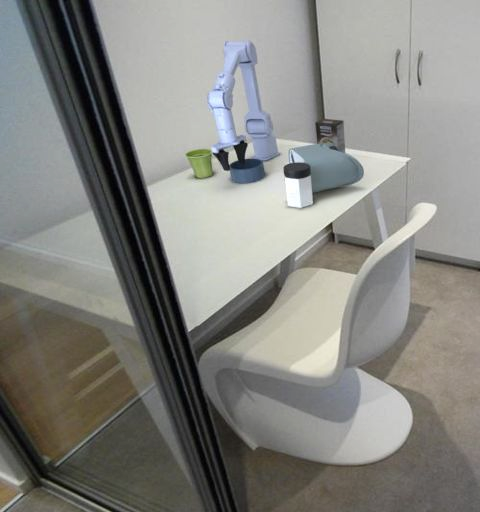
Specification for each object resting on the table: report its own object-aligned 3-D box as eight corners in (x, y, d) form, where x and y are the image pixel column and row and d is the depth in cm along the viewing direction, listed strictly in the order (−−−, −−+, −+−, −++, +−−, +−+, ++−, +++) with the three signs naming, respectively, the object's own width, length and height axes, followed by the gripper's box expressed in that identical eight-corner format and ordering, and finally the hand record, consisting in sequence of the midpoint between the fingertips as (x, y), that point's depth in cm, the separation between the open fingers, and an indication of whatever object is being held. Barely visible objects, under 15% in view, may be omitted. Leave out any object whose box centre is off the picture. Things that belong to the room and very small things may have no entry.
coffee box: (318, 163, 170) (314, 122, 161) (326, 158, 175) (322, 117, 166) (339, 166, 167) (335, 124, 158) (346, 160, 172) (343, 119, 163)
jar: (281, 205, 137) (277, 169, 131) (293, 196, 143) (290, 160, 137) (307, 209, 134) (303, 172, 128) (318, 199, 141) (315, 163, 135)
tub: (247, 169, 167) (244, 156, 164) (272, 173, 162) (269, 160, 160) (224, 180, 158) (221, 167, 155) (250, 185, 153) (247, 171, 151)
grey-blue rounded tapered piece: (291, 179, 157) (286, 144, 150) (339, 168, 164) (336, 135, 158) (313, 200, 140) (308, 162, 134) (365, 187, 148) (363, 151, 141)
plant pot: (221, 170, 166) (216, 148, 162) (211, 180, 158) (205, 157, 154) (198, 170, 167) (192, 148, 163) (186, 179, 159) (180, 157, 155)
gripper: (219, 135, 138) (228, 175, 145) (249, 123, 149) (257, 161, 156) (203, 132, 141) (212, 172, 148) (234, 121, 152) (241, 159, 159)
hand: (234, 166), depth 153 cm, fingers open, 7 cm apart
